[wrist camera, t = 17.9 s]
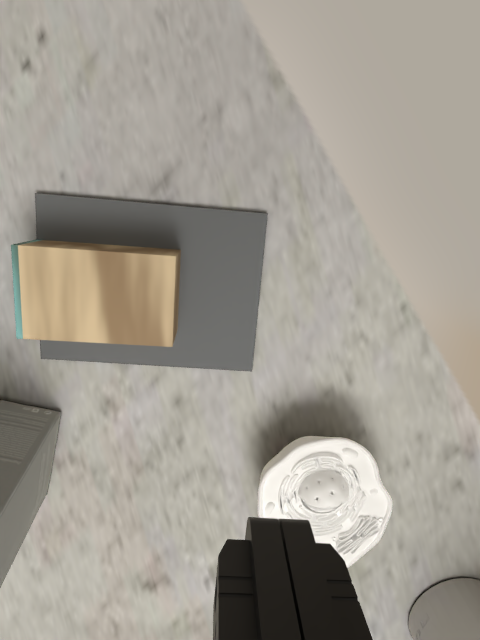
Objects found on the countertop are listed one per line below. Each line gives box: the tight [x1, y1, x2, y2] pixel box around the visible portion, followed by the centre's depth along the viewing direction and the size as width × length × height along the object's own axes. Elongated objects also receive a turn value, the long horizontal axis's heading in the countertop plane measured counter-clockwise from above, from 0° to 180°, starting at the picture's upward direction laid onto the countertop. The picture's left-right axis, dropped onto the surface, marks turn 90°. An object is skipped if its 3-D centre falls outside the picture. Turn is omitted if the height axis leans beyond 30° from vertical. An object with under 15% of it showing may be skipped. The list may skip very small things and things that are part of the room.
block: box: [11, 240, 181, 347], centre depth 29 cm, size 4×6×10 cm
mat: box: [35, 193, 268, 371], centre depth 32 cm, size 16×12×1 cm
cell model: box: [258, 436, 393, 568], centre depth 34 cm, size 10×12×7 cm
